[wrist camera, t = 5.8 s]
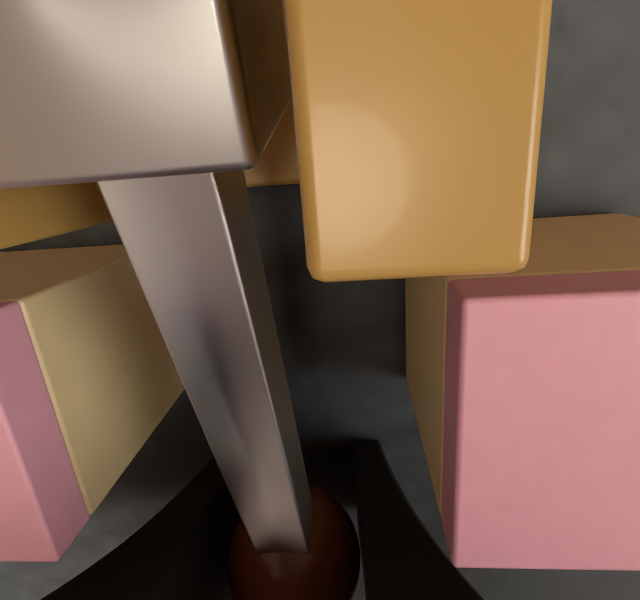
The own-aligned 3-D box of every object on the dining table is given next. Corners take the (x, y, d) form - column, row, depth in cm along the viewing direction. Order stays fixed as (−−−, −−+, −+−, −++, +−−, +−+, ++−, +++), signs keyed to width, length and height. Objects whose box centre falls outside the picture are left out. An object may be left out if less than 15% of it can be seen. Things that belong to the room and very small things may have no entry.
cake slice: (593, 374, 10) (820, 577, 5) (405, 379, 10) (451, 569, 5) (617, 212, 8) (949, 277, 4) (404, 226, 9) (462, 299, 4)
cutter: (360, 519, 11) (365, 663, 9) (253, 519, 11) (228, 657, 9) (301, -295, 3) (172, -1147, 1) (-42, -231, 4) (-872, -718, 1)
